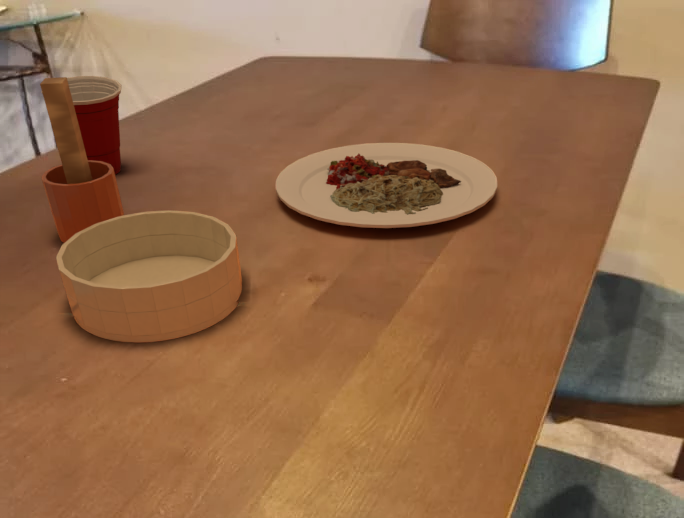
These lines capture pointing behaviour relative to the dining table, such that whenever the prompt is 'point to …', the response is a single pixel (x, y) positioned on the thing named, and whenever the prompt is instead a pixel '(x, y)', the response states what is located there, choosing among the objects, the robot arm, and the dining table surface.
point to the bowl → (151, 275)
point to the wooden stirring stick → (66, 129)
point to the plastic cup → (98, 117)
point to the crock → (82, 198)
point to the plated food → (386, 185)
